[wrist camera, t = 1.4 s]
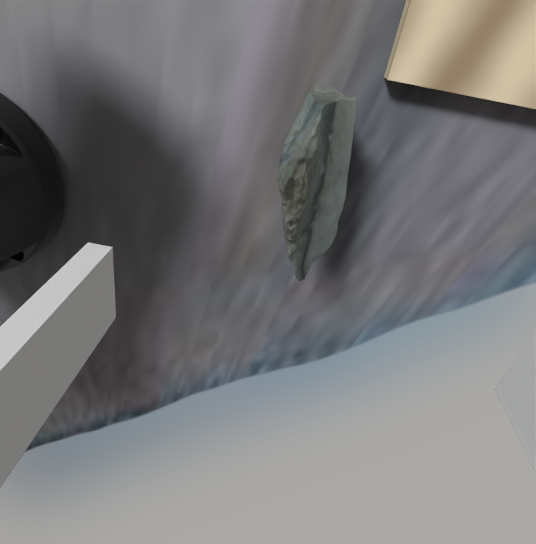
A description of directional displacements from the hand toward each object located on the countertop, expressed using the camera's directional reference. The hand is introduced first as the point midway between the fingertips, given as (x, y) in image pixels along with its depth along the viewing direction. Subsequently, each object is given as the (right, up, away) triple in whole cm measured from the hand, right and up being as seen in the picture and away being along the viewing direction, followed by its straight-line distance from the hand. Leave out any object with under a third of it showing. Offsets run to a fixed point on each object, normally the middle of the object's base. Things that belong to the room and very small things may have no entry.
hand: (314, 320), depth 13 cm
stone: (+2, +9, +16) cm, 19 cm away
